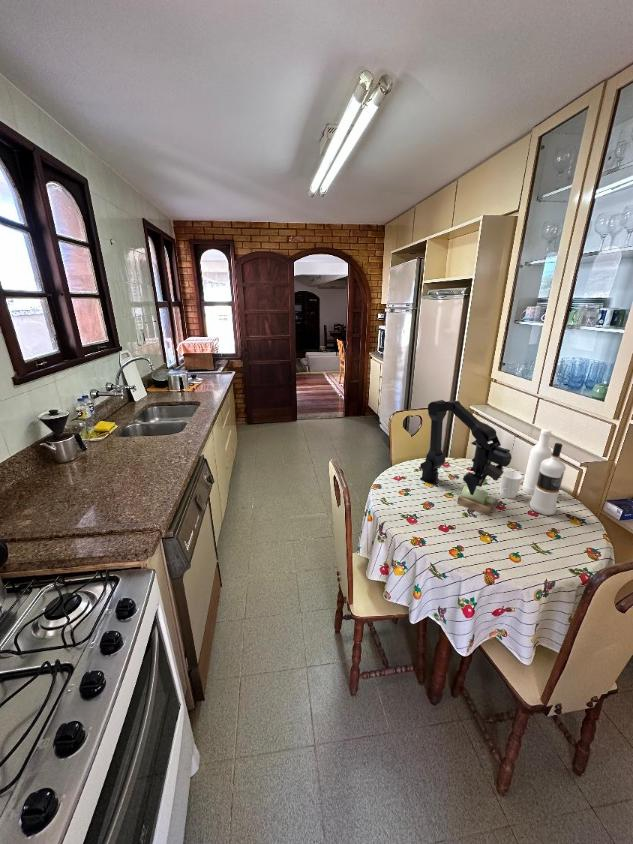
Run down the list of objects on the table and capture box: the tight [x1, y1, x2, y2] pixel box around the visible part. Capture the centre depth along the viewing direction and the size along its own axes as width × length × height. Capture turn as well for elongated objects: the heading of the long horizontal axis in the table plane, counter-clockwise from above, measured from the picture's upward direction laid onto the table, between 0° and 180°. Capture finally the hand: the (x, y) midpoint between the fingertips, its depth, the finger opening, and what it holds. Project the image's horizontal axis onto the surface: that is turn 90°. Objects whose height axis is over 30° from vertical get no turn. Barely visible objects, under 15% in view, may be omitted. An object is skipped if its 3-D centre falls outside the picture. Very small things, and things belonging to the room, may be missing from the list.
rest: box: [456, 495, 499, 517], centre depth 148 cm, size 13×10×3 cm
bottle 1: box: [460, 484, 499, 507], centre depth 146 cm, size 13×6×6 cm, turn 47°
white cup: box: [499, 470, 523, 499], centre depth 154 cm, size 8×8×10 cm
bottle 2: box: [521, 428, 553, 496], centre depth 154 cm, size 8×8×30 cm
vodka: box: [529, 442, 567, 516], centre depth 140 cm, size 9×9×30 cm
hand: (475, 490), depth 147 cm, fingers open, 9 cm apart
